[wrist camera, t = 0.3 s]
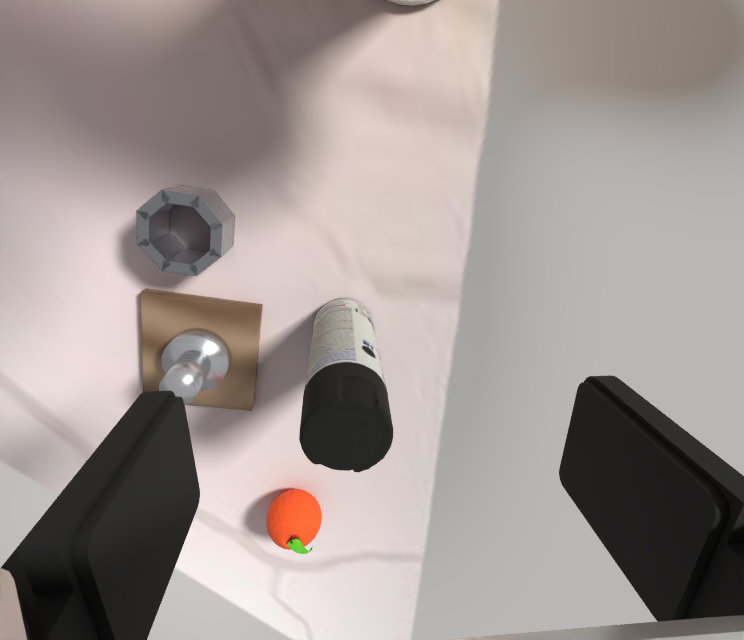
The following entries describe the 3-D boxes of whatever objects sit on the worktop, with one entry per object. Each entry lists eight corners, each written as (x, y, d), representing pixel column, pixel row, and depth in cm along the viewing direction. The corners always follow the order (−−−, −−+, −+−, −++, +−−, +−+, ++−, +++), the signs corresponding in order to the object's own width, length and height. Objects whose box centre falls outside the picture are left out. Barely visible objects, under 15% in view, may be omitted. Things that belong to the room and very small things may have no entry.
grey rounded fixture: (168, 324, 44) (139, 354, 37) (232, 332, 45) (215, 363, 38) (168, 378, 46) (141, 415, 40) (229, 384, 47) (213, 422, 41)
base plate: (145, 288, 43) (140, 292, 42) (262, 304, 45) (260, 308, 44) (147, 394, 48) (143, 399, 47) (253, 404, 50) (251, 410, 49)
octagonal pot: (158, 181, 39) (135, 185, 35) (236, 194, 40) (223, 200, 36) (159, 254, 42) (137, 267, 37) (232, 265, 43) (220, 279, 39)
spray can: (362, 357, 49) (379, 484, 30) (305, 343, 47) (287, 467, 29) (380, 306, 46) (410, 409, 28) (321, 289, 45) (312, 387, 27)
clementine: (336, 507, 57) (336, 553, 51) (293, 528, 58) (288, 576, 51) (304, 469, 54) (300, 513, 48) (259, 492, 55) (249, 538, 48)
